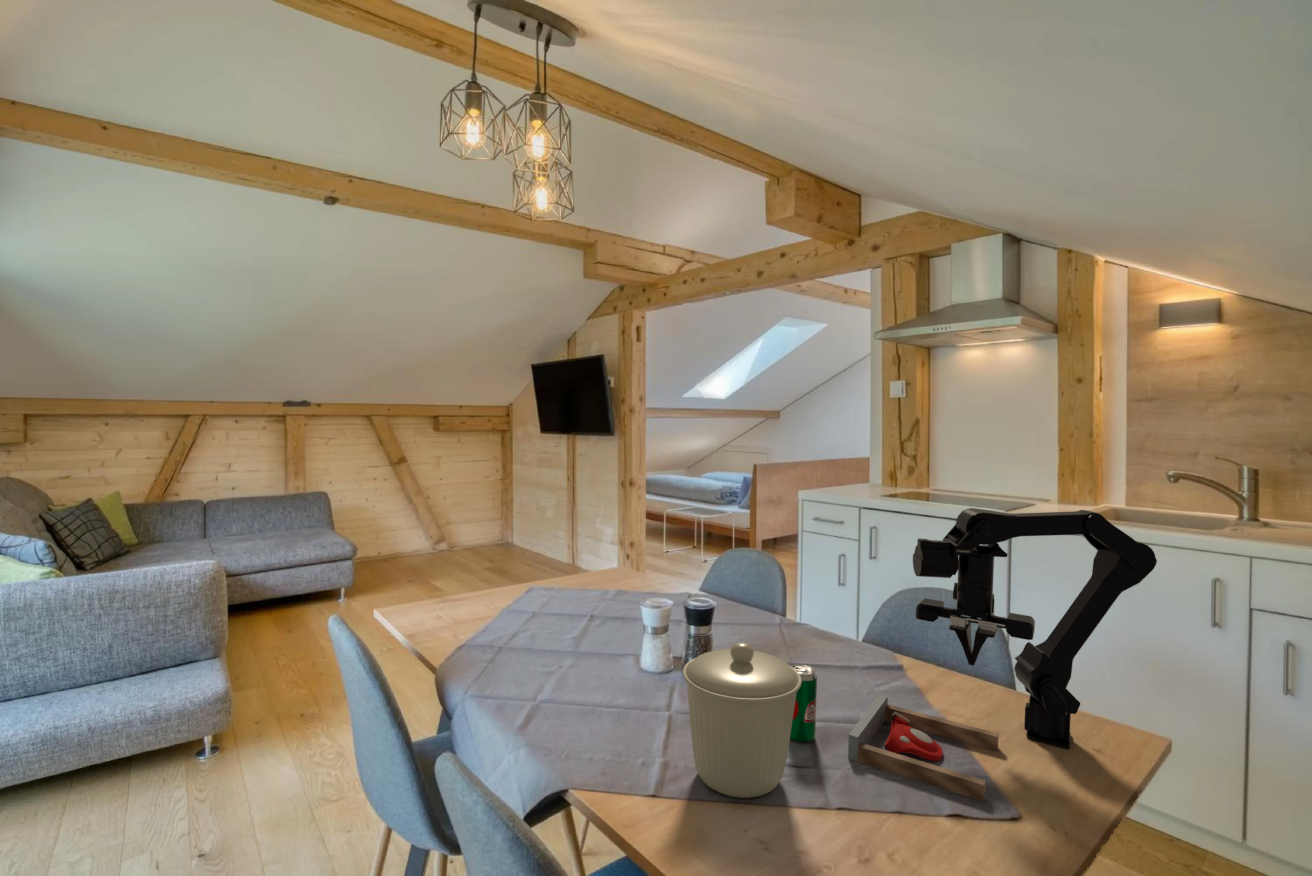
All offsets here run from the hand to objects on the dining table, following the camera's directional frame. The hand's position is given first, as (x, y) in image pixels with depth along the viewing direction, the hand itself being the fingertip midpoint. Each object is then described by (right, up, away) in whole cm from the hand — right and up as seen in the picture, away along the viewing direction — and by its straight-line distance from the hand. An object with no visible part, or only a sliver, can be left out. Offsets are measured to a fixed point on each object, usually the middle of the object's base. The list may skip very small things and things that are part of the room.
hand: (971, 664), depth 114 cm
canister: (-44, -12, -17) cm, 49 cm away
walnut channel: (-12, -12, -8) cm, 19 cm away
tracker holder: (-13, -12, -5) cm, 19 cm away
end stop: (-20, -12, -3) cm, 23 cm away
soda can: (-32, -12, -4) cm, 34 cm away
